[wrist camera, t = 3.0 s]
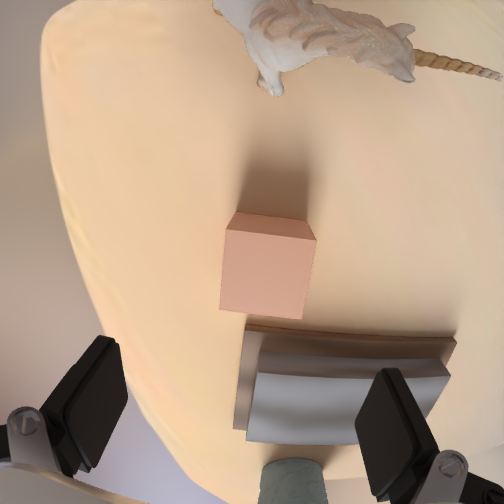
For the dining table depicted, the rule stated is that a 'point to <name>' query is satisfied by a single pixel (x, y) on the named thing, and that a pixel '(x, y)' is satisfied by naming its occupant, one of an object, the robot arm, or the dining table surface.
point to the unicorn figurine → (327, 40)
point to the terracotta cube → (266, 265)
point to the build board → (327, 349)
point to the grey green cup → (292, 483)
